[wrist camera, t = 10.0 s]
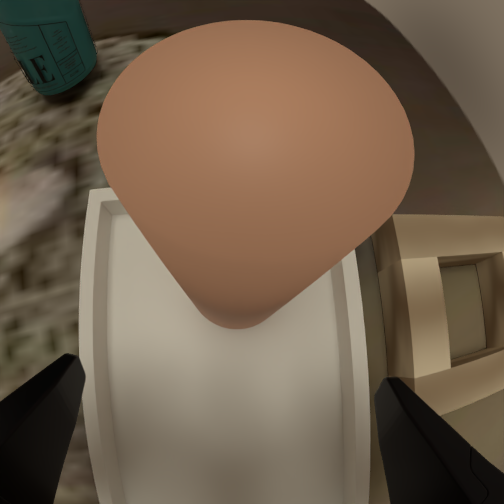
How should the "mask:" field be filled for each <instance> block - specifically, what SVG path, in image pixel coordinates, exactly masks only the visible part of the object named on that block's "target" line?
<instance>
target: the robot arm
mask: <svg viewBox="0 0 504 504" xmlns="http://www.w3.org/2000/svg"><path fill="white" fill-rule="evenodd" d="M85 381H86V374H85V371H84V368H83V366H82V363H81V361H80V358H79V357H78V356H77V355H73V354H69V353H66V354H64V355H62V356H61V357H60V358H58V359H57V360H56V361H54V362H53V363H51V364H50V365H49V366H47V367H46V368H45V369H43V370H42V371H41V372H39V373H38V374H37V375H35V376H34V377H32V378H31V379H30V380H28V381H27V382H26V383H24V384H23V385H22V386H20V387H19V388H18V389H16V390H15V391H14V392H12V393H11V394H10V395H8V396H7V397H6V398H4V399H3V400H2V401H0V504H53V502H54V498H55V494H56V490H57V486H58V482H59V479H60V475H61V471H62V468H63V464H64V460H65V457H66V454H67V450H68V447H69V444H70V440H71V437H72V434H73V431H74V428H75V424H76V421H77V417H78V412H79V407H80V403H81V398H82V394H83V389H84V385H85ZM374 402H375V411H376V420H377V429H378V439H379V445H380V451H381V455H382V460H383V465H384V470H385V475H386V481H387V486H388V492H389V497H390V503H391V504H504V473H503V472H501V471H500V470H499V469H497V468H496V467H495V466H494V465H492V464H491V463H490V462H489V461H488V460H486V459H485V458H484V457H483V456H482V455H481V454H480V453H479V452H478V451H477V450H476V449H474V448H473V447H472V446H471V445H470V444H469V443H468V442H467V441H466V440H465V439H464V438H463V437H462V436H461V435H460V434H458V433H457V432H456V431H455V430H454V429H453V428H452V427H451V426H450V425H449V424H448V423H447V422H446V421H445V420H444V419H443V418H441V417H440V416H439V415H438V414H437V413H436V412H435V411H434V410H433V409H432V408H431V407H430V406H429V405H428V404H427V403H425V402H424V401H423V400H422V399H421V398H420V397H419V396H418V395H417V394H416V393H415V392H414V391H413V390H412V389H410V388H409V387H408V386H407V385H406V384H405V383H404V382H403V381H402V380H401V379H400V378H398V377H396V376H393V377H385V378H384V379H383V380H382V382H381V384H380V386H379V388H378V390H377V391H376V393H375V397H374Z"/></svg>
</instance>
